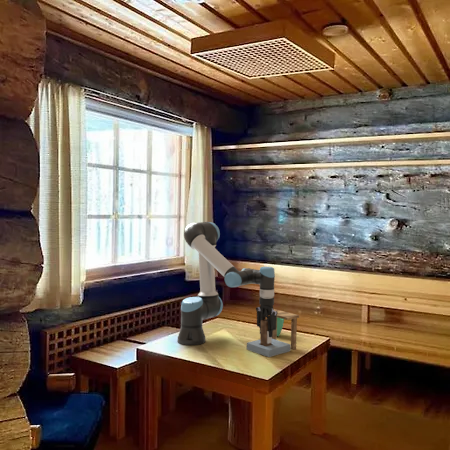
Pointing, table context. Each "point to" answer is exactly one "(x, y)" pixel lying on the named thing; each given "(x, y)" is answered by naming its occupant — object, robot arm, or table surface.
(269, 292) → the robot arm
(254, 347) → the socket block
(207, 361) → the table surface
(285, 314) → the wooden arch frame
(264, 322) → the peg
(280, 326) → the green tapered vase
